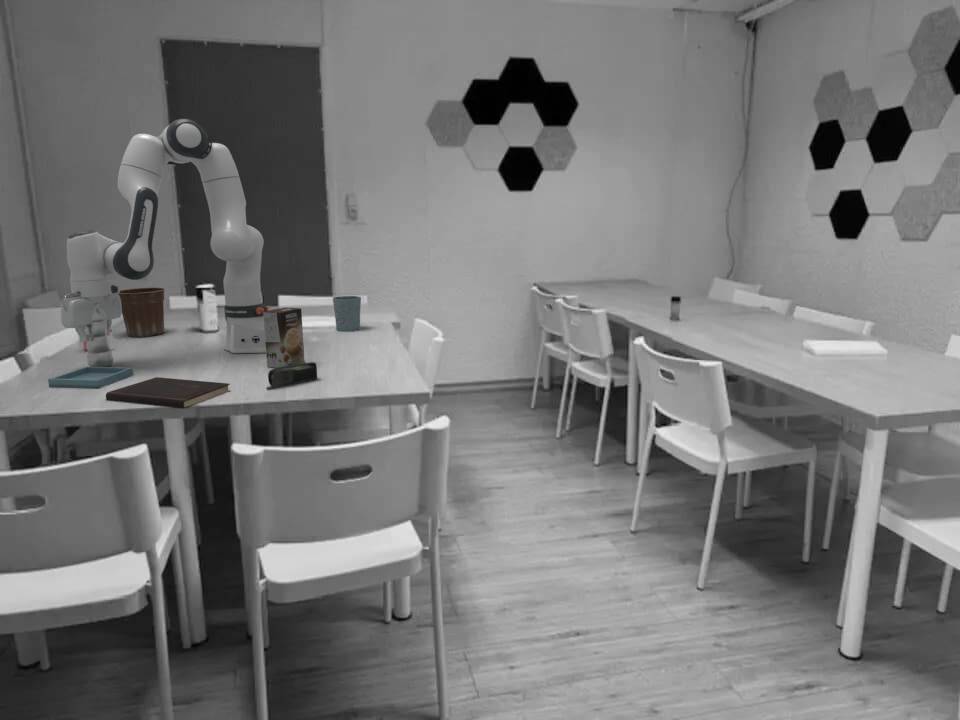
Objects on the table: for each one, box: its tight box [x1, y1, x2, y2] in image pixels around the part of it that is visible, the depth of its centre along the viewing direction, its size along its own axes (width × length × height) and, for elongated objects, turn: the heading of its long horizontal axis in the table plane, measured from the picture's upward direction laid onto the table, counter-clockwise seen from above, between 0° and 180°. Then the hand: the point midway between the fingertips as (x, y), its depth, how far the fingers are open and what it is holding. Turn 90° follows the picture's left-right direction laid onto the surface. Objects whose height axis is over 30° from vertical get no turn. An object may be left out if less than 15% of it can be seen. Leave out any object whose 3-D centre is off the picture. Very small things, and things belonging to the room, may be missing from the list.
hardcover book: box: [105, 376, 231, 409], centre depth 165 cm, size 16×23×2 cm
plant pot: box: [118, 287, 166, 338], centre depth 244 cm, size 16×16×16 cm
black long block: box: [265, 362, 318, 390], centre depth 174 cm, size 5×3×15 cm
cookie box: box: [263, 307, 306, 369], centre depth 194 cm, size 9×6×16 cm
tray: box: [47, 366, 134, 389], centre depth 180 cm, size 14×14×2 cm
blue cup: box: [332, 295, 362, 333], centre depth 250 cm, size 10×10×12 cm
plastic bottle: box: [84, 303, 114, 367], centre depth 192 cm, size 6×7×20 cm
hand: (95, 338), depth 193 cm, fingers open, 7 cm apart
